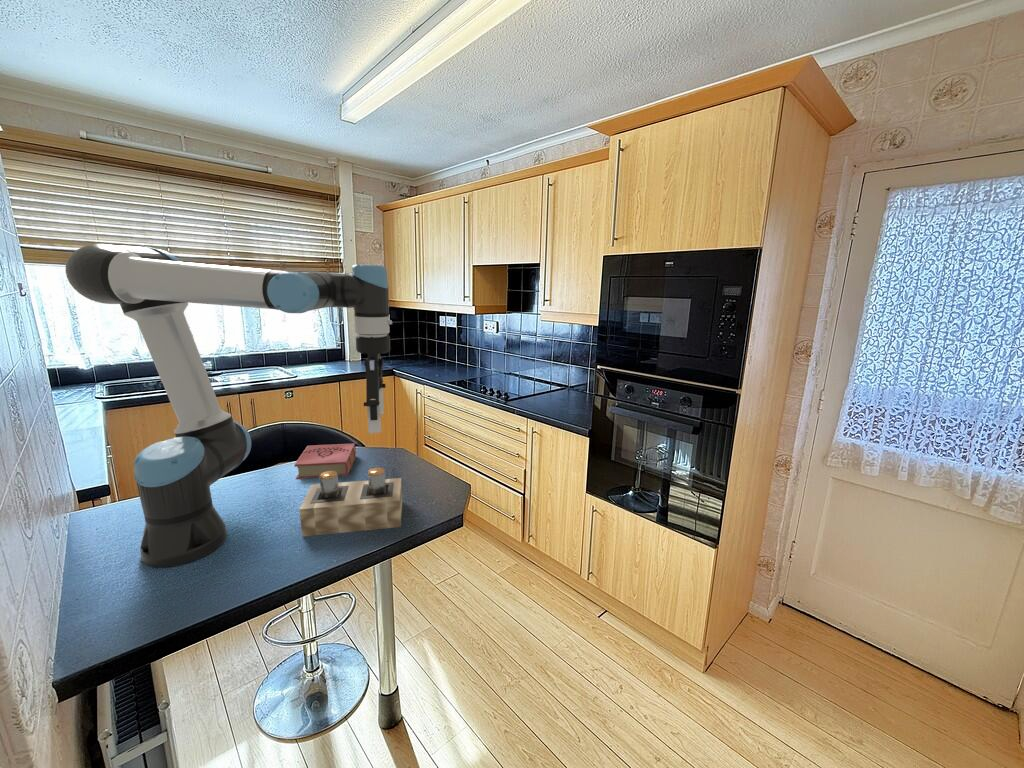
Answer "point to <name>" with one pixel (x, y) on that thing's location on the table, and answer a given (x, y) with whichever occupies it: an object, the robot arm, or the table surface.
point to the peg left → (329, 485)
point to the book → (326, 460)
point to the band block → (351, 509)
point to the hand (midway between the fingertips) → (376, 422)
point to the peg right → (376, 481)
